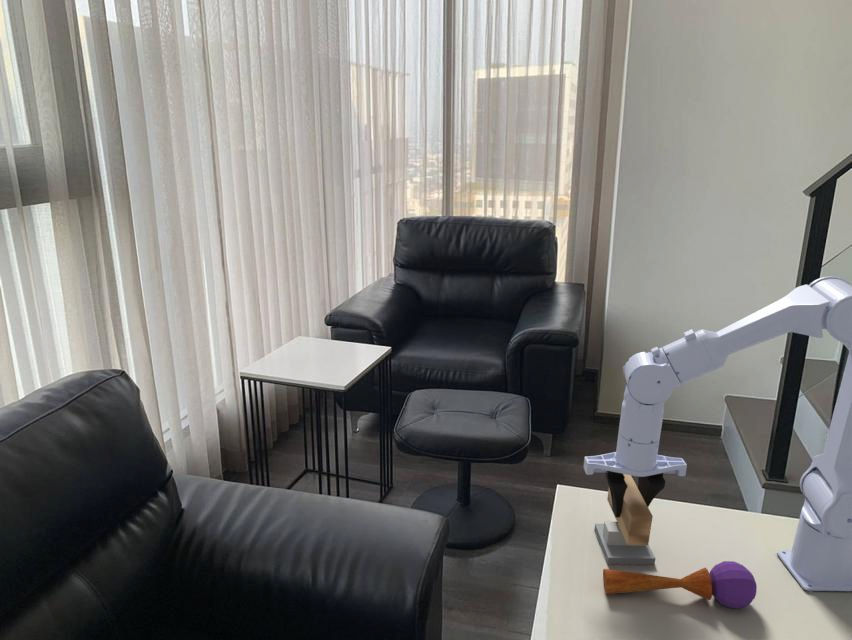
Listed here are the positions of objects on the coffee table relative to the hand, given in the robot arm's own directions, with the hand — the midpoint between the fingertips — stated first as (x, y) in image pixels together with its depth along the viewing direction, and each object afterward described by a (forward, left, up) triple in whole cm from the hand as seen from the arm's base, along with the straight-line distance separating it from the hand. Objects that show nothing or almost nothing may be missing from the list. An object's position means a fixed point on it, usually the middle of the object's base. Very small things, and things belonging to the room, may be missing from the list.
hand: (627, 513), depth 96 cm
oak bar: (0, 0, -1) cm, 1 cm away
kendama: (-4, +10, -7) cm, 13 cm away
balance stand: (0, 0, -6) cm, 6 cm away
